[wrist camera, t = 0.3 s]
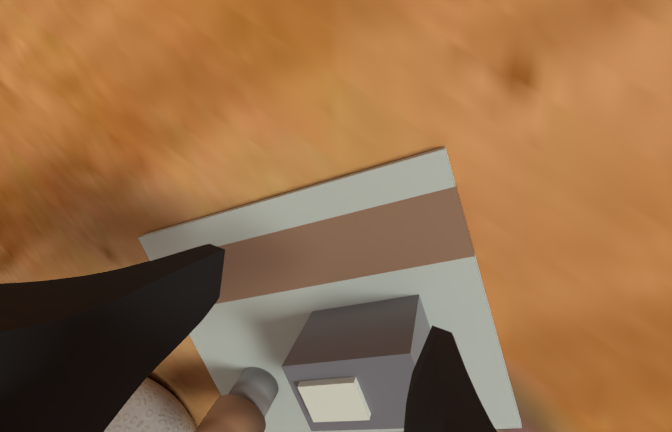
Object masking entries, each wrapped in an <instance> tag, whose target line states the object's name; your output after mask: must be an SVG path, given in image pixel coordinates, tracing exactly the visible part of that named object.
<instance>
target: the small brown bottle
mask: <svg viewBox="0 0 672 432" xmlns="http://www.w3.org/2000/svg"><path fill="white" fill-rule="evenodd" d="M278 389H279V388H278V383H277V381H276V379H275V378H274V377H273V376H272V375H271V374H270V373H269V372H267V371H266V370H264V369H262V368H258V367H249V368H247V369H245V370H244V371H243V372H242V374H241V375H240V377H239V378H238V380H237V381H236V383H235V384H234V386H233V387H232V389H231V390H230V392H229V393H228V395H223V396H221V397H219V398H218V399H217V400H216V402H215V403H214V405H213V406H212V408H211V409H210V410H209V412H208V413H207V415H206V416H205V418H204V419H203V421H202V422H201V423H200V425H199V426H198V428H197V429H196V431H195V432H264V431H265V428H266V422H265V416H266V414H267V412H268V410H269V408H270V407H271V405H272V403H273V401H274V399H275V397H276V395H277V393H278Z"/></svg>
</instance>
